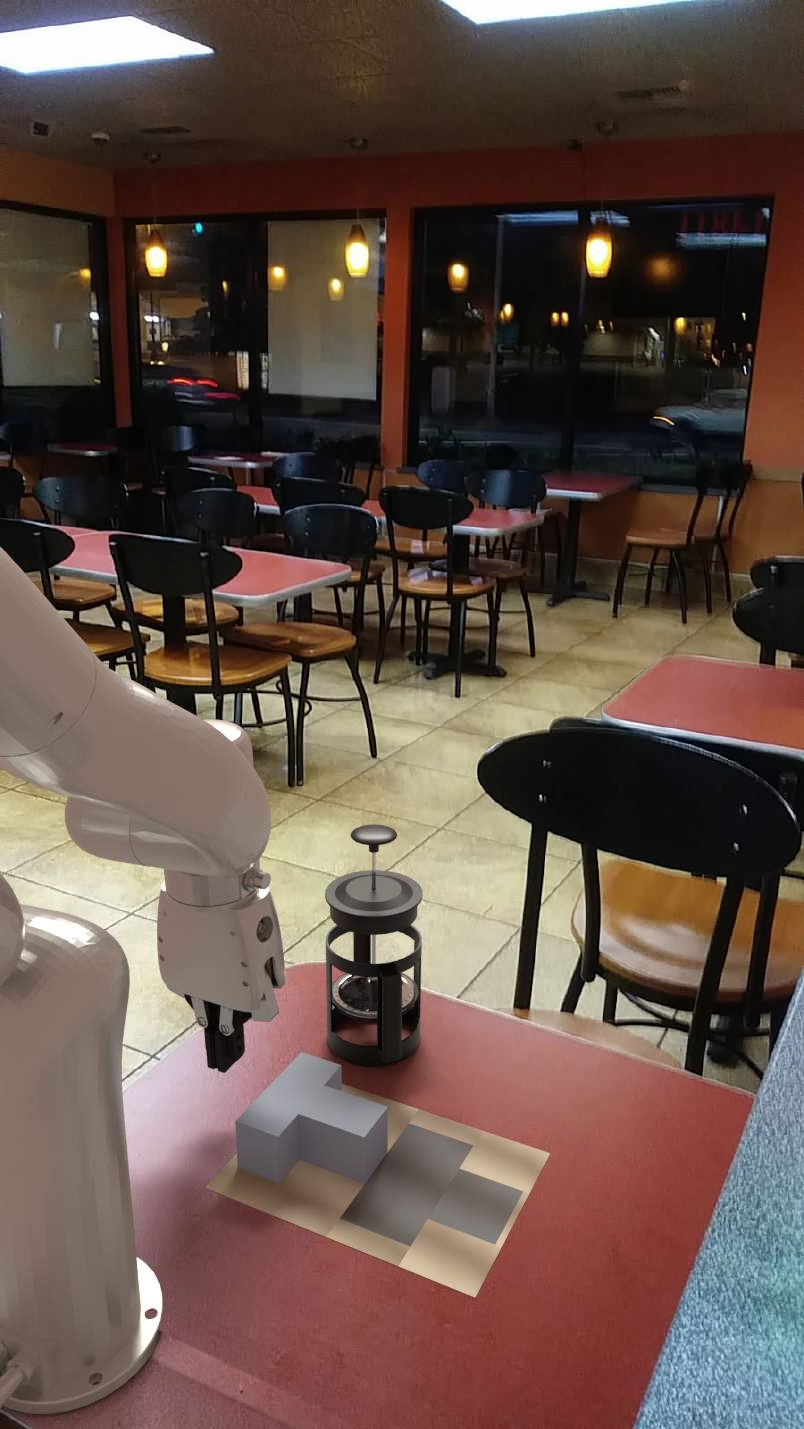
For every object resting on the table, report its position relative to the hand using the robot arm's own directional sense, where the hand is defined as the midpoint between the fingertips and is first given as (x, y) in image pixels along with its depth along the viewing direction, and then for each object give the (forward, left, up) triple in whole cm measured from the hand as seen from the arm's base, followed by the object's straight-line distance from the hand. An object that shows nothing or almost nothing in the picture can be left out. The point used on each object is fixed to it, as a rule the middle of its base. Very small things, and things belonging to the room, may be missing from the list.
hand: (226, 1060), depth 92 cm
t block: (-1, -10, -4) cm, 11 cm away
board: (-1, -16, -6) cm, 17 cm away
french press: (+14, -7, -6) cm, 17 cm away
